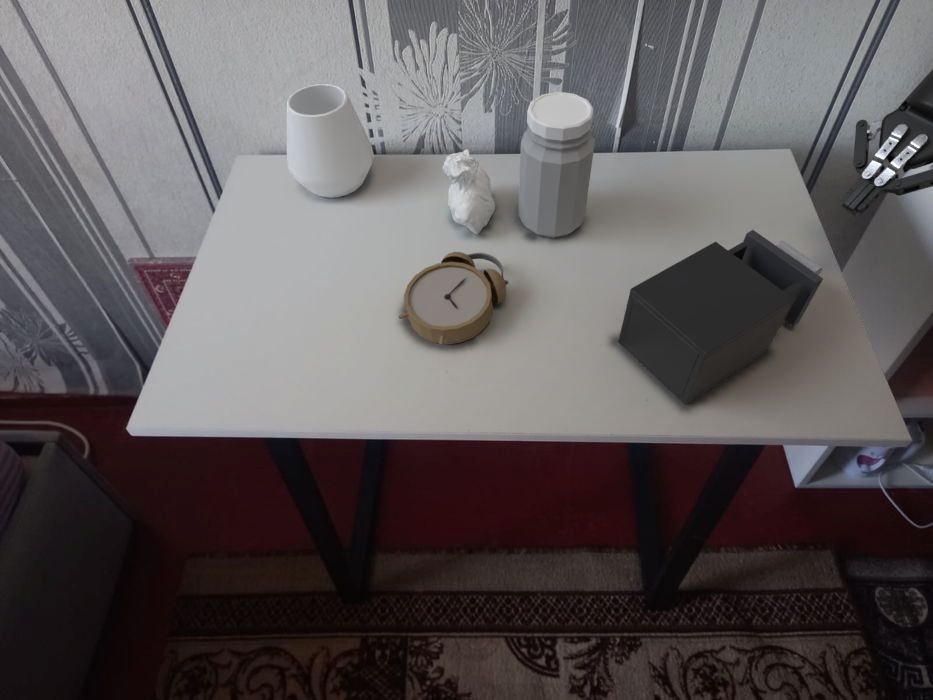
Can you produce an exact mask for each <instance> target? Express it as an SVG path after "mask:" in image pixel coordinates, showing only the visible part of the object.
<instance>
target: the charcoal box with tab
mask: <svg viewBox="0 0 933 700" xmlns="http://www.w3.org/2000/svg"><path fill="white" fill-rule="evenodd" d="M728 250H729V249H727V248H725V247H724V246H723V245H721V244H720V243H719V242H717V241H714V242H712V243H710V244H709V245H707V246H704V247H703V248H701V249H699V250H697V251H696V252H694V253H693V254H692V253H691V255H689V256H687V257H685V258H683V259H681V260H679V261H678V262H676V263H674V264H673V265H671V266H669V267H667V268H665V269H663V270H662V271H660V272H657V273H656V274H654V275H653V276H651V277H649V278H647V279H645V280H644V281H642V282H640V283H638V284H636V285H634V286H633V287H631V288H630V290H629V295H628V299H627V303H626V308H625V312H624V316H623V321H622V325H621V328H620V332H619V337H618V343H619V344H620V345H621V346H622V347H624V348H625V349H626V350H627V351H628V352H629V354H631V355H632V356H633V357H634V358H635V359H636V360H637V361H638V362H639V363H641V365H643V366H644V368H646V369H647V370H648V371H649V372H650V373H651V374H652V375H653V376H654V377H655V378H656V379H657V380H659V381H660V382H661V383H662V384H663V385H664V386H665V387H666V388H667V389H668V390H669V391H670V393H672V394H673V395H674V396H675V397H676V398H677V399H679V400H680V401H681V402H682V403H683V404H684V405H685V406H686V405H688V404H690V403H691V402H692V401H694V400H695V399H697V398H699V397H700V396H702V395H703V394H705V393H706V392H708V391H710V390H711V389H713V388H714V387H715V386H717V385H718V384H720V383H721V382H723V381H724V380H726V379H728V378H729V377H731V376H732V375H733V374H736V372H738V371H740V370H741V369H743V368H744V367H746V366H748V365H749V364H750V363H752V362H754V361H755V360H756V359H758V358H760V357H761V356H763V355H764V354H766V353H767V351H768V349H769V348H770V346H771V344H772V342H773V340H774V338H775V336H776V334H777V332H778V330H780V329H779V328H781V327H780V325H781V323H782V321H783V319H784V317H785V315H786V313H787V312H788V310H789V308H790V306H791V304H792V302H793V300H794V299H793V298H792V297H790V296H789V295H788V294H786V293H785V292H784V291H782V290H781V289H779V288H778V287H777V286H775V285H774V284H773V283H771V282H770V281H769V280H767V279H766V278H765V277H763V276H762V275H760V274H759V273H758V272H756V271H755V270H754V269H752V268H751V267H750V266H748V265H747V264H746V263H744V262H743V261H741V260H740V259H739V258H737V257H736V256H735V255H733V254H732V253H731V252H729V251H728Z"/></svg>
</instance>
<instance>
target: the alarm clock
mask: <svg viewBox="0 0 933 700" xmlns="http://www.w3.org/2000/svg"><path fill="white" fill-rule="evenodd" d="M478 259H479V260H484V261H485V260H486V261H489V262H491V263H493V264H494V265H495V266H496V267H497V268H498V269H499V271H500V272H499V271H497V270H495V269H493V268H487V269H483V271H480V270H479V269H478V268H477V267H476V265H475V262H474V260H478ZM508 284H509V280H508V279H505V278H504V267H503V265H502V263H501V262H500V261H499V259H498V258H496V257H495V256H493V255H492V254H488V253H484V252H472V253H469V254H468V253H464V252H460V251H454V252H449V253H446V255H445V256H444V257H443V258H442V260H441V262H440V263H435V264H433V265H430V266H428V267H425V268H424V269H422V270H421V271H419V272H418V273H417V274H415V275H414V276H413V277H412V278H411V280H410V281H409V282H408V284H407V286H406V288H405V292H404V294H403V299H404V308H405V310H406V312H403V313H401V314H399V315H398V320H401V319H405V318H407V320H408V322H409V324H410V326H411V328H412V330H413V331H414V332H415V333H416V334H417V335H418V336H419V337H420V338H422V339H424V340H426V341H429V342H431V343H432V344H433V343H434V344H439V345H440V346H443V345H452V344H461V343H463V342H466V341H468V340H470V339H471V340H472V339H473V338H475V337H476V336H478V335H479V334H480V333H481V332H483V331H484V330H485V328H486V327H487V325H488V324H489V322H490V321H491V318H492V314H493V310H494V307H493V303H494V304H495V305H498V304H500V303H501V302H503V300H504V299H505V297H506V295H507V285H508ZM492 301H493V302H492Z"/></svg>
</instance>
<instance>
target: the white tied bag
mask: <svg viewBox="0 0 933 700" xmlns="http://www.w3.org/2000/svg"><path fill="white" fill-rule="evenodd" d="M441 168H442V169H441V170H442V172H443V173H444V175H446V176H447V177H448V178H449V179H450V181H451V182H452V183H451V184H450V185H449V186H448V190H447V198H448V199H447V205H448V208H449V210H450V213H451V218H452V219H453V221H454V222H455V223H457V224H458V225H461V226H463V227H466V228H467V229H468V230H469V231H470V232H472V233H473V234H474V235H479V234H480V233H481V231H482V230H483V228H485V227H486V226H488V224H489V221H490V219H491V218H492V216H493V214H494V213H495V209H496V204H495V200H494V197H493V195H492V188H491V179H490V176H489V175H488V173H487V171H486V170H485V168H483V166H482V165H480V163H479V160H478V159H476V158H475V157H474V156H471V154H470V150H469V149H467V148H466V149H464V150H463V151H458V152H454V153H451V154H448V155H447V156H446V158H445V160H444V162H443V166H442V167H441Z"/></svg>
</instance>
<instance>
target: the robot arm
mask: <svg viewBox="0 0 933 700" xmlns="http://www.w3.org/2000/svg"><path fill="white" fill-rule="evenodd" d="M879 132H880V133H879ZM854 133H855V134H854V147H853V148H854V149H853V159H852V160H853V161H852V165H853V167H854V168H855V171H856V173H857V174H858V175H859V178H858V180H857V181H856V182H855V183H854V184H853V185H852V186H851V187H850V189H848V191H847V192H846V193H845V194H843V197H842V199H841V201H842V202H843V203H842V205H841V207H842V210H844V211H845V212H847V213H848V214H850V215H852V216H853V217H854V216H856V215H858V213H859V214H860V215H862V214H864V213H865V212H866V211H868V210H869V208H870V207H871V206H872V205H873V204H874V203H875V202H876V201H877V200H878V198H880V197H881V195H883V194H886V193H888V194H894V195H896V196H898V197H899V196H903V195H907V194H911V193H914V192H917V191H921V190H924V189H929V188H931V187H933V68H932V69H931V70H930V71H929V72H928V73H927V74H926V76H925V77H924V78H922V80H921V81H920V82H919V83H918V85H916V87H915V88H914V89H913V90H912V91H911V92H910V94H908V96H907V97H906V98H905V99H904V100H903V101H902V102H901V104H900V105H899V106H898V107H897V108H896V109H894V110H893V111H891V112H890V113H889V112H888V113H887V114H886V115H885V116H884V117H882V119H881V120H874V121H873V120H872V121H867V120H866V119H859V120H858V121H857V122H856V124H855V132H854ZM878 134H879V142H878V148H879V149H878V150H877V151H876V153H875V154H874V155H873V158H872V160H871V161H870V162H869V154H870V153H869V151H870V142H872V141H874V140H876V138H877V135H878ZM928 165H930V166H929V168H928V169H927V170H925V171H920V172H918V173H914V174H911V175H908V176H906V175H907V174H908V173H909V172H910V171H911V170H916V169H920V168H922V167H925V166H928Z"/></svg>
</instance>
